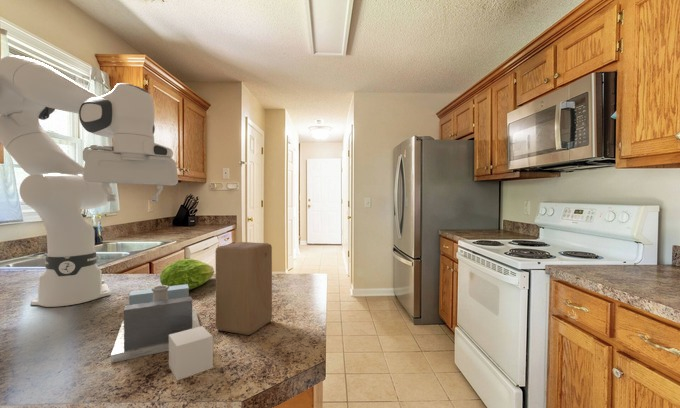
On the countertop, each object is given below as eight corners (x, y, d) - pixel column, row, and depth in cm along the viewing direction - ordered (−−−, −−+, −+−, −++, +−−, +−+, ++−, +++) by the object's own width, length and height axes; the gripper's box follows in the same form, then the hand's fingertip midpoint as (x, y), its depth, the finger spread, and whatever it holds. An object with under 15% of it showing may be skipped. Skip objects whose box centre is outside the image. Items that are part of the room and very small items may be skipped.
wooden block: (273, 320, 78) (273, 242, 78) (249, 337, 69) (249, 248, 69) (240, 316, 82) (240, 241, 81) (214, 331, 72) (213, 246, 72)
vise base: (122, 327, 74) (122, 288, 74) (195, 314, 82) (195, 279, 82) (110, 362, 58) (110, 313, 58) (202, 343, 66) (202, 299, 66)
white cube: (202, 356, 61) (202, 325, 61) (213, 368, 56) (213, 335, 56) (168, 366, 57) (168, 334, 57) (177, 381, 52) (176, 346, 52)
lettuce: (230, 265, 122) (206, 246, 123) (196, 276, 97) (167, 253, 99) (212, 289, 122) (188, 270, 123) (174, 307, 97) (145, 282, 99)
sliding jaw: (131, 324, 72) (130, 291, 72) (187, 314, 78) (187, 284, 78) (129, 330, 69) (129, 295, 69) (189, 319, 75) (188, 288, 75)
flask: (185, 326, 71) (185, 283, 71) (164, 340, 64) (163, 292, 64) (157, 324, 72) (157, 282, 72) (133, 337, 65) (132, 291, 65)
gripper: (79, 142, 71) (79, 201, 72) (178, 150, 82) (178, 202, 82) (85, 146, 77) (85, 201, 77) (177, 153, 87) (177, 202, 87)
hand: (133, 201), depth 79 cm, fingers open, 8 cm apart
